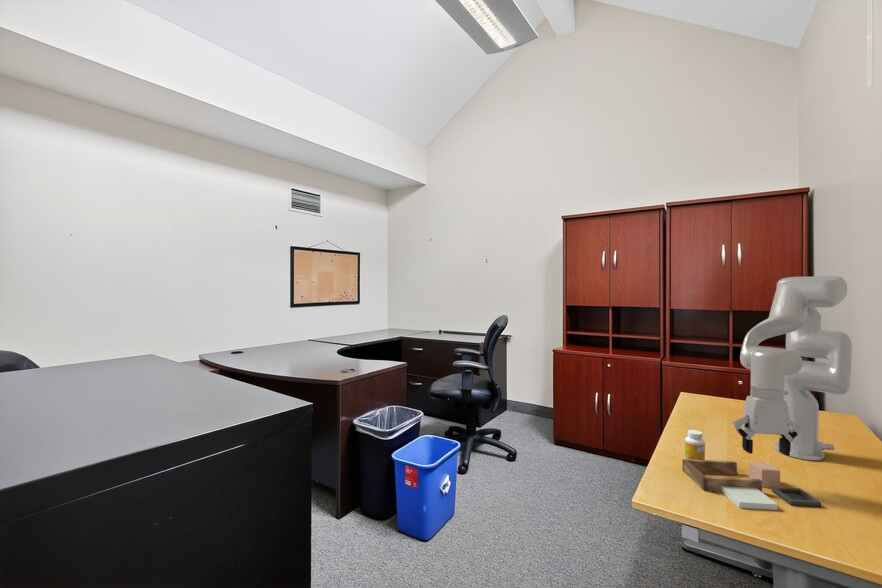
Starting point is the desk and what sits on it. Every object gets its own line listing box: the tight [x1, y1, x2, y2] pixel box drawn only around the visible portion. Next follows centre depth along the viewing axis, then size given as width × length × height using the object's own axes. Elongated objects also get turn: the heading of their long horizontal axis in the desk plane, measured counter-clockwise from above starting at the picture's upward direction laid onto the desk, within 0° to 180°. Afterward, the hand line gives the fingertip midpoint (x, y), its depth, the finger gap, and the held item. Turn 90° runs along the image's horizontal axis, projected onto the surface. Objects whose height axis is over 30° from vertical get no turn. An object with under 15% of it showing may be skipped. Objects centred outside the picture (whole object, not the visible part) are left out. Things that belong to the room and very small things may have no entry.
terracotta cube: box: [748, 461, 781, 488], centre depth 113 cm, size 5×5×5 cm
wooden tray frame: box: [682, 458, 763, 493], centre depth 115 cm, size 15×12×4 cm
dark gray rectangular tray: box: [771, 487, 822, 508], centre depth 105 cm, size 7×7×1 cm
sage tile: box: [721, 486, 778, 511], centre depth 104 cm, size 9×8×2 cm
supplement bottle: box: [684, 429, 706, 460], centre depth 127 cm, size 5×5×10 cm
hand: (765, 452), depth 112 cm, fingers open, 9 cm apart
